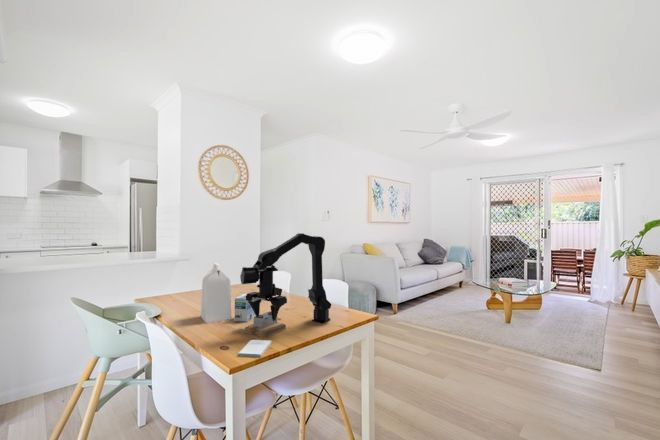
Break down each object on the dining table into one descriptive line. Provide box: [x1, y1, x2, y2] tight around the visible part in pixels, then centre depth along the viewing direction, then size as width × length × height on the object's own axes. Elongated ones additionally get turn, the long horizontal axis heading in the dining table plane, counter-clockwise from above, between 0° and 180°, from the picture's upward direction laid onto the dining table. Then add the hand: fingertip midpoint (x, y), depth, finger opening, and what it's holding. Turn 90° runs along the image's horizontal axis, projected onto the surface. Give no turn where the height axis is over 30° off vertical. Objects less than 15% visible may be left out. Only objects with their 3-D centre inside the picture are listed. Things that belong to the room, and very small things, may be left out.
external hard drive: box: [237, 339, 272, 358], centre depth 106 cm, size 2×8×12 cm
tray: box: [244, 321, 287, 339], centre depth 125 cm, size 12×12×2 cm
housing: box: [253, 311, 278, 329], centre depth 126 cm, size 9×5×5 cm, turn 150°
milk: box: [200, 262, 233, 324], centre depth 143 cm, size 12×12×26 cm
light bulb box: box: [234, 293, 256, 323], centre depth 143 cm, size 11×7×11 cm, turn 169°
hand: (265, 318), depth 126 cm, fingers open, 9 cm apart
